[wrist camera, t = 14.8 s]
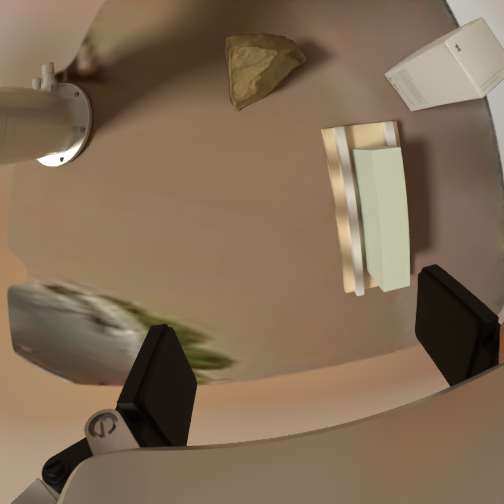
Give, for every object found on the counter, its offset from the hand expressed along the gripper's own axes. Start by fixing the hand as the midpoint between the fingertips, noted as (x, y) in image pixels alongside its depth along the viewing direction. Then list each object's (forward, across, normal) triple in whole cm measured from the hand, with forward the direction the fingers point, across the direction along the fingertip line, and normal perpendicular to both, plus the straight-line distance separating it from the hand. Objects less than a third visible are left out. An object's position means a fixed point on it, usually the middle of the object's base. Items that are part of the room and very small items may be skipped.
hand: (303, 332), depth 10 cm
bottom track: (+28, -13, +5) cm, 31 cm away
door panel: (+27, -13, +4) cm, 30 cm away
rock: (+29, -4, -14) cm, 33 cm away
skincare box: (+28, -24, -12) cm, 39 cm away
